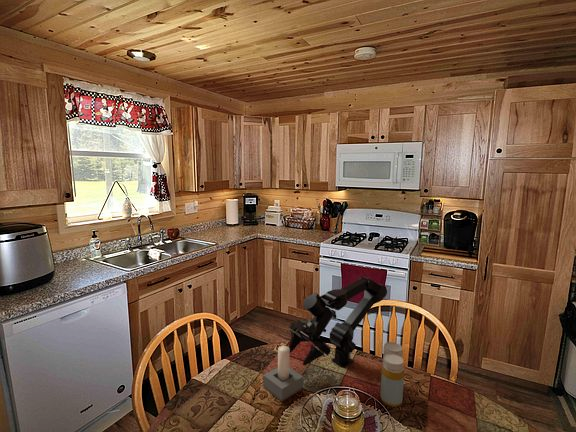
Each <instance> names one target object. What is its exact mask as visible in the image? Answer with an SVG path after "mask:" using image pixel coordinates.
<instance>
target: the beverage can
mask: <svg viewBox="0 0 576 432" xmlns="http://www.w3.org/2000/svg"><path fill="white" fill-rule="evenodd" d="M382 351H383V353H382V354H383V355H382V367H381V368H382V369H383V366H384V356H385V355H387V354H395V355H398V356H400V357H401V358H402V359H403V360H404V358H403V357H404V356H403V355H404V349H403V346H402V345H401V344H399V343H396V342H392V341H388V342H385V343H384V346H383V350H382ZM382 369H381V370H382Z"/></svg>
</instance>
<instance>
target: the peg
mask: <svg viewBox="0 0 576 432" xmlns="http://www.w3.org/2000/svg"><path fill="white" fill-rule="evenodd" d="M290 354H291V353H290V348H289V346H288V345H281V346H279V347H278V349H277V367H278V379H279V380H280V381H281V382H284V381H286V380H288V379H289V367H290V356H291V355H290Z"/></svg>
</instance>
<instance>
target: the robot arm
mask: <svg viewBox="0 0 576 432" xmlns="http://www.w3.org/2000/svg"><path fill="white" fill-rule="evenodd" d="M361 293H363V297H362V298H361V299H360V301H359V302H358V304H356V306H355V307H354V309H353V310H352V311H351V312H350V313H349V315H348V316H347V318H346V319H345V320H344V322H338V321H337V322H336V323H335V325H334V326H333V327H332V328H331V331H330V332H329V340H330V343H331V344H332V345H334V346H335V348H334V357H333V358H331V362H333V363H335V364H337V365H338V366H340V367H342V368H346V367H347V366H349V365H351V364H352V363H354V360H353V359H352V358H351V355H352V353H353V352H354V351H355V349H356V343H355V342H354V341H353V339H354V335H355V334H354V333H355V330H356V328H357V327H358V326H359V324H360V323H361V322H362V321H363V319H364V318H365V317H366V315H367V314H368V313H369V311H370V310H371V309H372V307H373V306H374V305H375V304H379V302H382V300H383V299H384V298H385V297H386V296H387V294H388V290H387V287H386V285H384V284H380V283H379V282H376V281H374V280H372V278H369V277H366V276H360V277H359V279H357V280H355V281H353V282H352V283H350V284H348V285H346V286H344V287H343V288H340V289H339V288H338V289H331V290H328V291H326V293H325V294H322V295H320V294H318V293H317V292H313V293H312V294H310V295H308V296H307V297H305V298H304V299H303V302H302V306H303V308H304V309H306V310H307V312H309V313H310V314H311V315H312V316H313V318H311V317H310V318H308V319H307V320H305V319H301V318H296V319H297V320H296V322H292V323H291V324H290V325H289V327H288V328H289V332H290V335H291V338H290V341H289V346H288V347H289V348H290V354H291V353H292V352H293V351H294V350H295V349H296V348H297V346H298V345H299V344H301V342H302V341H303V338H304V339H306V340H307V341H309V342H311V343H312V344H310V351H309V352H308V353H307V356H306V357H305V359H304V360H303V362H302V365H303V366H307V365H308V364H310V363H312V362H313V361H315V360H317V359H319V358H321V357H325V356H329V355H330V354H331V351H332V350H331V349H332V348H331V346H329V345H328V344H327V343H326V342H324V340H321V339H320V337H321V335H322V334H323V333H326V332H327V329H326V328H327V326H328V325H329V323H330V322H331V320H332V318H333V319H335V320H336V319H337V314H336V311H340V310H342V309H343V308H344V307H346V305H347V304H348V303H347V302H349V301H350V299H352V298H354V297H356V296H358V295H359V294H361Z"/></svg>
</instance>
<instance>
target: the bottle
mask: <svg viewBox="0 0 576 432" xmlns="http://www.w3.org/2000/svg"><path fill="white" fill-rule="evenodd" d="M404 361H405V360H404V358H403V359H402V358H401V357H400V356H398V355H395V354H387V355H385V356H384V366H383V365H382V367H383V369H381V381H380V399H381V401H382V402H383V404H385V405H386V406H389V407H392V408H396V407H399V406H401V405H402V404H403V398H404V395H403V394H404V385H405V373H404V364H405V363H404Z"/></svg>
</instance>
